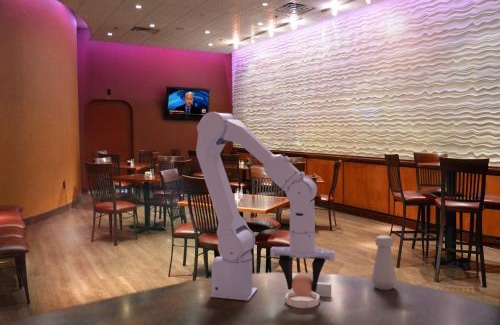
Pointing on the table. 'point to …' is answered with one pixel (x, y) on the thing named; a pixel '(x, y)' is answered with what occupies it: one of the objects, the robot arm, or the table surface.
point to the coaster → (302, 300)
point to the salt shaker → (384, 264)
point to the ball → (302, 284)
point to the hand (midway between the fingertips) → (302, 289)
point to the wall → (323, 289)
